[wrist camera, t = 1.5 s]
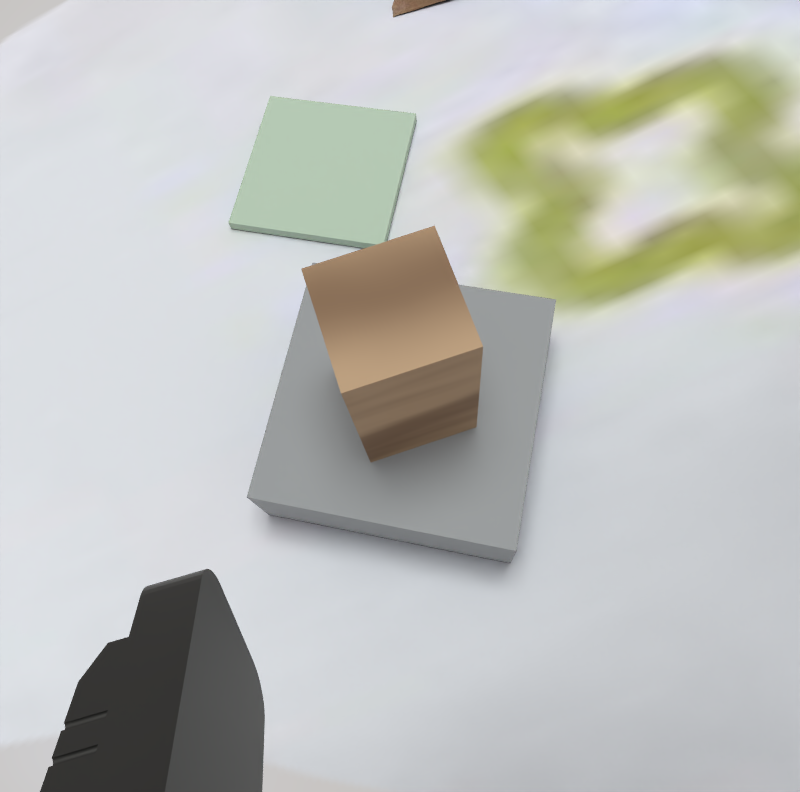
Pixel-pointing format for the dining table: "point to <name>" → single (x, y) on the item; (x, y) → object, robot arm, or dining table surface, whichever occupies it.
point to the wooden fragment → (410, 5)
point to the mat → (324, 172)
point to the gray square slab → (419, 467)
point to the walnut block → (399, 342)
